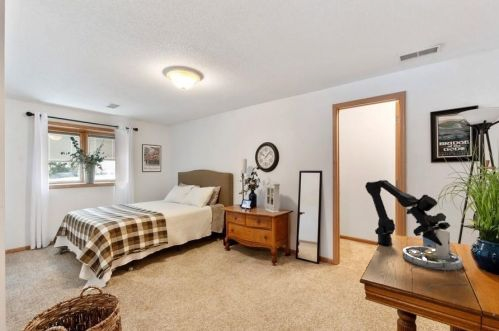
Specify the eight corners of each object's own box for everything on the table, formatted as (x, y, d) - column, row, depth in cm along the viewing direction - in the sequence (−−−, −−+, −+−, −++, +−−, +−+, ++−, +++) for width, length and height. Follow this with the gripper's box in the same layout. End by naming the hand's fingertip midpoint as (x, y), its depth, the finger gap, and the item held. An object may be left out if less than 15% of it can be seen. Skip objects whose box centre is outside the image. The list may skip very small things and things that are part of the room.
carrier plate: (393, 258, 123) (393, 250, 123) (415, 248, 136) (415, 241, 136) (450, 276, 103) (450, 266, 103) (470, 262, 115) (470, 254, 115)
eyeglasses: (473, 293, 90) (473, 280, 90) (429, 290, 93) (429, 277, 93) (447, 274, 106) (447, 263, 106) (410, 272, 109) (410, 261, 109)
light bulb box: (422, 247, 138) (422, 228, 138) (429, 245, 141) (428, 227, 141) (443, 253, 128) (443, 233, 128) (450, 251, 131) (450, 231, 131)
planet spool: (436, 258, 112) (435, 231, 112) (433, 254, 117) (433, 228, 117) (451, 260, 109) (450, 232, 109) (448, 256, 114) (447, 229, 114)
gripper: (418, 209, 114) (444, 238, 103) (445, 206, 119) (472, 233, 109) (404, 221, 121) (426, 250, 111) (430, 218, 127) (453, 245, 116)
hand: (445, 244), depth 112 cm, fingers closed on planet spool, 4 cm apart
